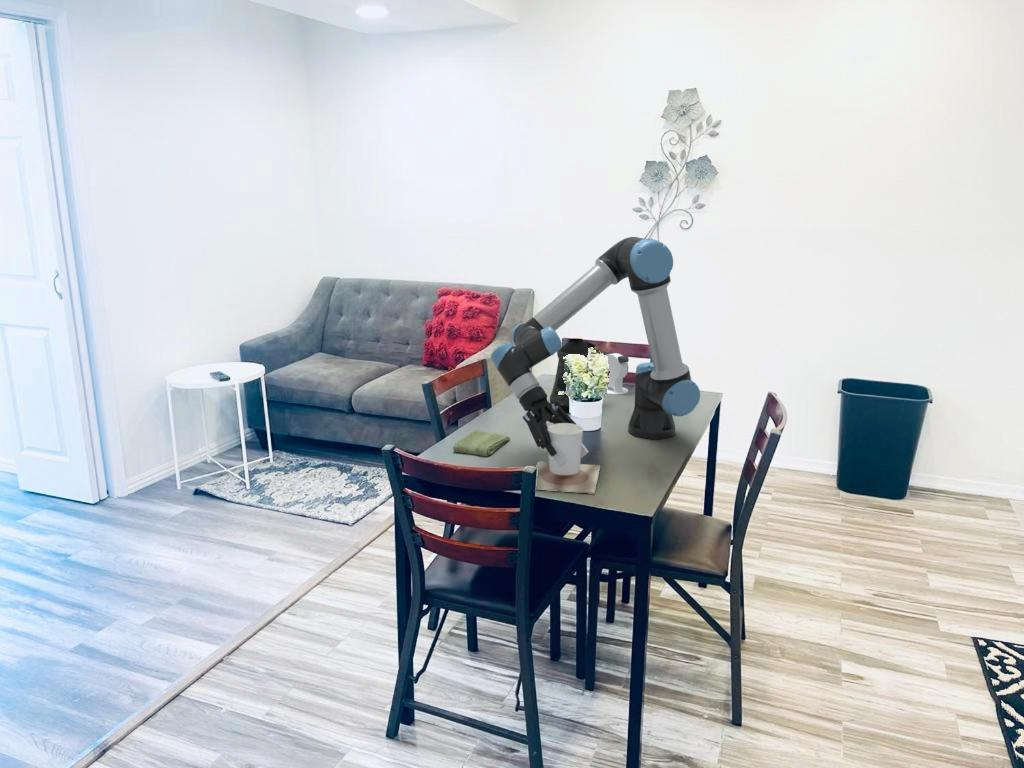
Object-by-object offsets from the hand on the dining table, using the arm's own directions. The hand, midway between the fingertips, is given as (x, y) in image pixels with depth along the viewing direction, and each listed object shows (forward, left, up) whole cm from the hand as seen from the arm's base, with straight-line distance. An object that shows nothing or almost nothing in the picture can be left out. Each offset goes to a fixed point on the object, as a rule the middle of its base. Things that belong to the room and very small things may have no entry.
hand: (574, 459), depth 205 cm
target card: (+3, -2, -6) cm, 7 cm away
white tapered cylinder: (+3, -2, -4) cm, 5 cm away
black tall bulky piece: (+8, -72, -6) cm, 72 cm away
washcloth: (+31, -24, -7) cm, 40 cm away
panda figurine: (-5, -96, -6) cm, 96 cm away
